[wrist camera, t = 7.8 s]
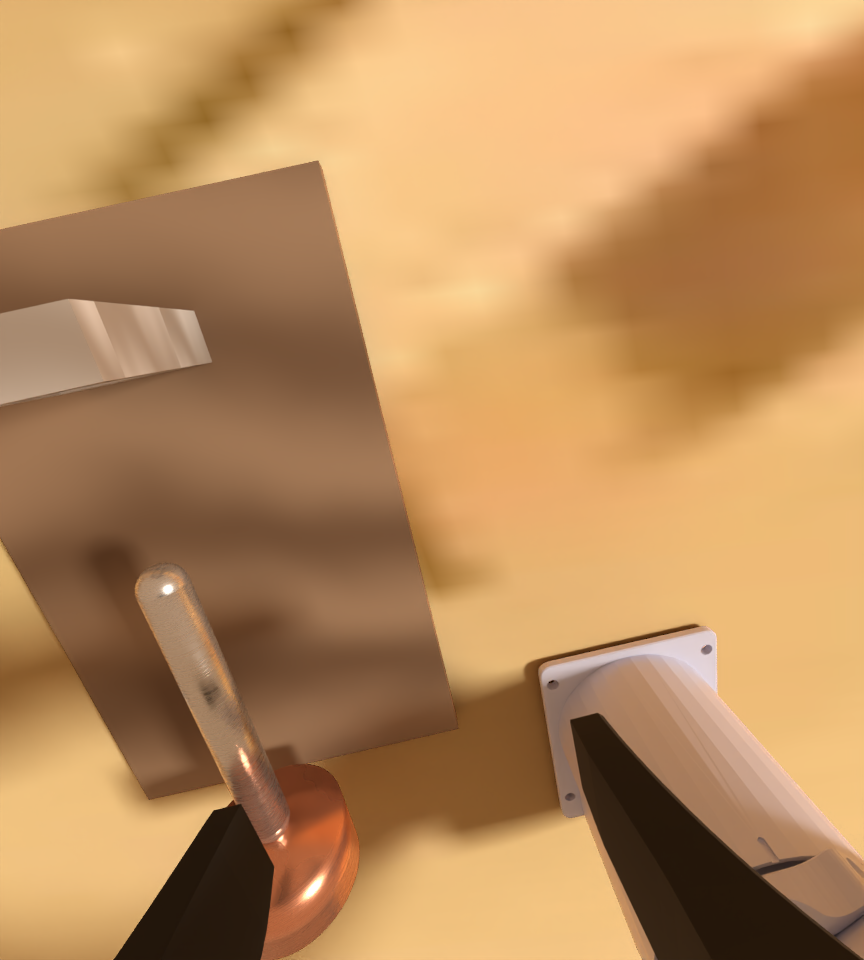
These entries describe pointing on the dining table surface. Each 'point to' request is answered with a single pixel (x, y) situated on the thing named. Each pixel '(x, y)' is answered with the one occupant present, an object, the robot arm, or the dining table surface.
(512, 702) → the dining table surface
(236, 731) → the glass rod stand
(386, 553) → the board
